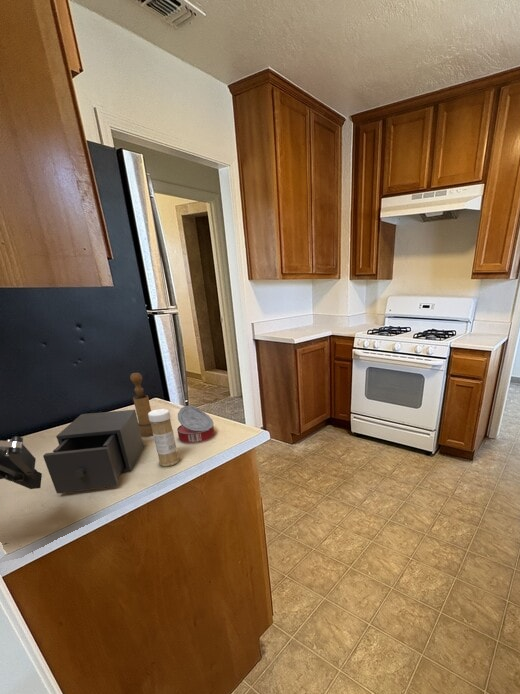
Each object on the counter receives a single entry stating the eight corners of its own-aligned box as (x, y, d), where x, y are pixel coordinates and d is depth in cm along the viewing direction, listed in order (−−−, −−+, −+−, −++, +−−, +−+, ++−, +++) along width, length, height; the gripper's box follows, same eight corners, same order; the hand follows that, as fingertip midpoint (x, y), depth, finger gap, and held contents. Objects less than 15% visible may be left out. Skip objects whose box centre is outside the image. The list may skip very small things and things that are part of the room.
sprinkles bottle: (172, 457, 90) (161, 407, 84) (183, 461, 87) (173, 410, 82) (155, 464, 86) (143, 412, 81) (166, 469, 84) (154, 416, 79)
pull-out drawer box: (115, 488, 74) (104, 451, 71) (54, 496, 72) (39, 458, 68) (132, 458, 87) (124, 425, 84) (81, 464, 85) (70, 430, 81)
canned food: (206, 443, 108) (218, 413, 108) (211, 452, 100) (223, 420, 99) (168, 432, 103) (180, 400, 102) (170, 441, 94) (182, 407, 93)
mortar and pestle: (135, 438, 101) (120, 376, 94) (136, 430, 107) (122, 371, 100) (160, 434, 104) (148, 374, 97) (160, 427, 109) (148, 369, 102)
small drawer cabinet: (130, 471, 83) (119, 429, 79) (70, 478, 80) (56, 436, 76) (143, 446, 96) (135, 409, 92) (92, 451, 93) (81, 414, 89)
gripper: (-158, 466, 39) (-10, 507, 61) (-20, 451, 42) (75, 496, 64) (-139, 406, 42) (-3, 466, 63) (-10, 396, 45) (78, 457, 66)
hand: (36, 481), depth 63 cm, fingers closed
